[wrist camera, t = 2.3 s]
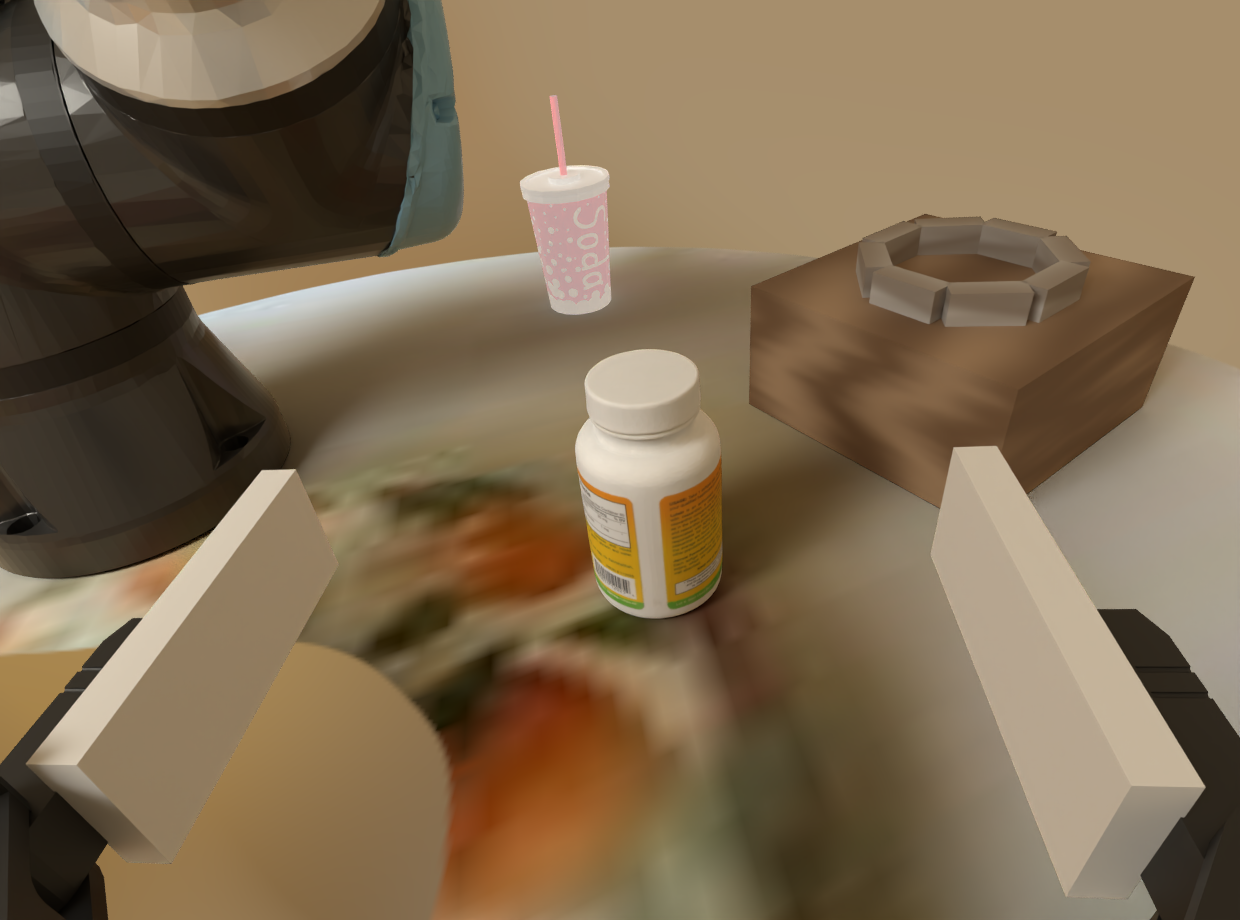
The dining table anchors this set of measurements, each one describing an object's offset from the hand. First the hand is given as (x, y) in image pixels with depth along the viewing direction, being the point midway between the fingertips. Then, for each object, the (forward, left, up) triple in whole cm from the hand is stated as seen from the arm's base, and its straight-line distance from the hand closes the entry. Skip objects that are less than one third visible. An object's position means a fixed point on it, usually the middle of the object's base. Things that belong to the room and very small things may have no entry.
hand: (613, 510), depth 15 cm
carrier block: (-8, +25, -12) cm, 29 cm away
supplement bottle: (-8, +6, -13) cm, 16 cm away
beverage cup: (-34, +19, -13) cm, 41 cm away
